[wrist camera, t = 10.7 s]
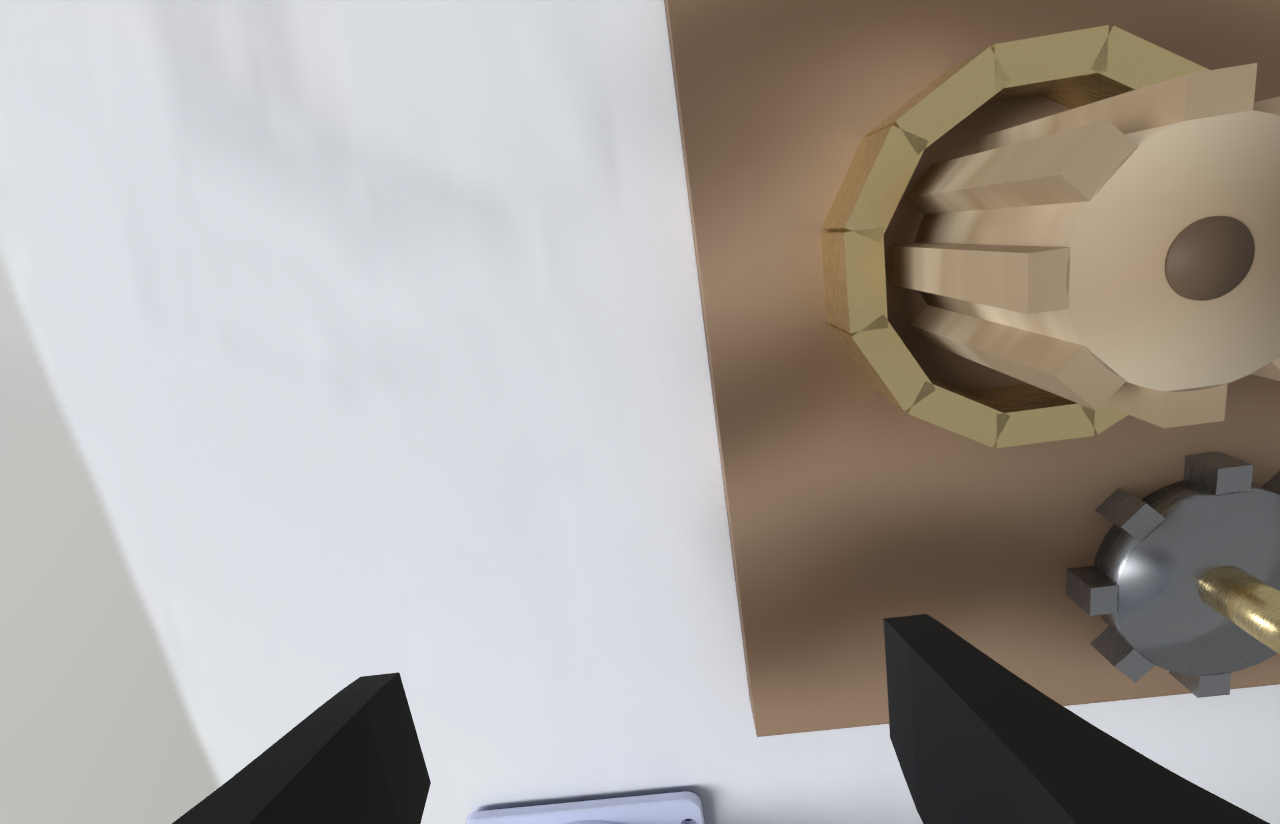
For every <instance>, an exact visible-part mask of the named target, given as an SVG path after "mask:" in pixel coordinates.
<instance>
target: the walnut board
mask: <svg viewBox="0 0 1280 824" xmlns="http://www.w3.org/2000/svg"><path fill="white" fill-rule="evenodd" d="M664 3H665V11H666V19H667V27H668V36H669V44H670V52H671V60H672V68H673V76H674V84H675V93H676V101H677V109H678V117H679V125H680V133H681V142H682V150H683V158H684V166H685V174H686V182H687V190H688V199H689V207H690V215H691V223H692V231H693V239H694V247H695V256H696V264H697V272H698V280H699V288H700V296H701V305H702V313H703V321H704V329H705V337H706V345H707V353H708V362H709V370H710V378H711V386H712V394H713V402H714V410H715V419H716V427H717V435H718V443H719V451H720V459H721V468H722V476H723V484H724V492H725V500H726V508H727V516H728V525H729V533H730V541H731V549H732V557H733V565H734V573H735V582H736V590H737V598H738V606H739V614H740V622H741V630H742V639H743V647H744V655H745V663H746V671H747V679H748V688H749V696H750V703H751V708H752V713H753V718H754V723H755V729H756V734H757V737H761V736H771V735H781V734H791V733H800V732H810V731H820V730H830V729H840V728H850V727H860V726H870V725H880V724H889V708H888V691H887V673H886V656H885V638H884V621H883V619H884V618H893V617H902V616H911V615H920V614H928V615H930V616H931V617H933V618H934V619H936V620H937V621H939V622H940V623H942V624H943V625H944V626H946V627H947V628H949V629H950V630H952V631H953V632H954V633H956V634H957V635H959V636H960V637H962V638H963V639H964V640H966V641H967V642H969V643H970V644H972V645H973V646H974V647H976V648H977V649H979V650H980V651H982V652H983V653H984V654H986V655H987V656H989V657H990V658H992V659H993V660H995V661H996V662H997V663H999V664H1000V665H1002V666H1003V667H1005V668H1006V669H1008V670H1009V671H1010V672H1012V673H1013V674H1015V675H1016V676H1018V677H1019V678H1021V679H1022V680H1024V681H1025V682H1027V683H1028V684H1030V685H1031V686H1033V687H1034V688H1036V689H1037V690H1039V691H1040V692H1042V693H1043V694H1045V695H1046V696H1048V697H1049V698H1051V699H1052V700H1054V701H1056V702H1057V703H1059V704H1060V705H1062V706H1068V705H1078V704H1088V703H1098V702H1108V701H1118V700H1128V699H1138V698H1148V697H1157V696H1167V695H1177V694H1187V693H1192V692H1191V691H1189V690H1188V689H1187V688H1186V687H1185V686H1184V685H1182V684H1181V683H1180V682H1179V681H1178V680H1177V679H1175V678H1174V677H1173V676H1172V675H1171V674H1170V673H1169V670H1166V669H1163V668H1161V667H1159V666H1157V665H1155V666H1154V667H1153V668H1152V669H1151V670H1150V671H1148V672H1147V673H1146V674H1145V675H1144V676H1143V677H1142V678H1140V679H1139V680H1138V681H1137V682H1136V683H1135V682H1134V681H1133V680H1131V679H1130V678H1129V677H1127V676H1126V675H1125V674H1123V673H1122V672H1121V671H1119V670H1118V669H1117V668H1115V667H1114V666H1113V665H1112V664H1111V663H1110V662H1109V661H1108V660H1107V659H1106V658H1105V657H1104V656H1102V655H1101V654H1100V653H1099V652H1098V651H1097V650H1096V649H1095V648H1094V647H1093V646H1092V645H1091V644H1090V643H1091V642H1092V641H1093V640H1094V639H1095V638H1096V637H1098V636H1099V635H1100V634H1101V633H1102V632H1103V631H1104V630H1105V629H1106V628H1107V627H1108V625H1107V624H1106V623H1105V621H1104V620H1103V619H1102V617H1101V615H1093V616H1089V615H1088V614H1087V613H1086V612H1085V611H1084V610H1083V609H1082V608H1080V607H1079V606H1078V605H1077V604H1076V603H1075V602H1074V601H1073V600H1071V599H1070V598H1069V597H1068V596H1067V595H1066V585H1067V569H1068V568H1077V567H1086V566H1093V565H1094V561H1095V557H1096V555H1097V552H1098V550H1099V547H1100V545H1101V543H1102V541H1103V540H1104V538H1105V536H1106V534H1107V533H1108V531H1109V530H1110V529H1111V527H1112V526H1113V524H1111V523H1110V522H1109V521H1108V520H1106V519H1105V518H1104V517H1102V516H1101V515H1100V514H1099V513H1097V512H1096V511H1095V510H1096V509H1097V508H1098V507H1099V506H1100V505H1101V504H1102V503H1103V502H1104V501H1105V500H1106V499H1107V498H1108V497H1109V496H1110V495H1111V494H1112V493H1113V492H1114V491H1115V490H1116V489H1117V488H1120V489H1122V490H1123V491H1125V492H1127V493H1129V494H1131V495H1132V496H1134V497H1136V498H1138V499H1140V500H1141V499H1143V498H1144V497H1146V496H1147V495H1149V494H1151V493H1153V492H1155V491H1156V490H1158V489H1160V488H1163V487H1165V486H1168V485H1170V484H1173V483H1176V482H1179V481H1183V480H1184V467H1185V455H1192V454H1200V453H1208V452H1216V451H1219V452H1222V453H1224V454H1227V455H1230V456H1232V457H1235V458H1237V459H1240V460H1242V461H1245V462H1248V463H1250V464H1253V473H1252V482H1251V483H1253V484H1255V485H1257V486H1260V487H1262V486H1263V485H1264V484H1265V483H1266V482H1268V481H1269V480H1270V479H1271V478H1272V477H1273V476H1274V475H1275V474H1276V473H1277V472H1278V471H1280V381H1277V380H1273V379H1269V378H1264V377H1260V376H1256V375H1252V374H1250V375H1247V376H1245V377H1243V378H1240V379H1238V380H1236V381H1233V382H1230V383H1227V384H1228V386H1227V396H1226V407H1225V418H1224V421H1219V422H1211V423H1203V424H1195V425H1187V426H1179V427H1171V428H1162V427H1159V426H1157V425H1154V424H1151V423H1149V422H1146V421H1144V420H1141V419H1138V418H1136V417H1133V416H1131V415H1128V416H1126V417H1124V418H1123V419H1121V420H1120V421H1118V422H1117V423H1115V424H1114V425H1112V426H1110V427H1109V428H1107V429H1106V430H1104V431H1103V432H1101V433H1100V434H1096V433H1094V436H1090V437H1082V438H1074V439H1066V440H1058V441H1050V442H1042V443H1035V444H1027V445H1019V446H1011V447H1003V448H995V447H994V446H993V448H992V447H989V446H987V445H984V444H982V443H979V442H977V441H974V440H972V439H969V438H967V437H964V436H962V435H959V434H957V433H954V432H952V431H949V430H947V429H944V428H942V427H939V426H937V425H934V424H932V423H929V422H927V421H924V420H922V419H919V418H917V417H914V416H912V415H909V414H907V413H906V412H905V411H903V410H902V409H900V408H899V407H898V406H896V405H895V404H893V403H892V402H891V401H889V400H888V399H887V398H885V397H884V396H882V395H881V394H880V393H878V392H877V391H876V390H875V389H874V388H873V386H872V385H871V383H870V382H869V381H868V379H867V378H866V376H865V375H864V374H863V372H862V371H861V370H860V368H859V367H858V365H857V364H856V363H855V361H854V360H853V358H852V357H851V356H850V354H849V353H848V351H847V350H846V349H845V347H844V346H843V345H842V343H841V342H840V340H839V339H838V338H837V336H836V335H835V333H834V332H833V331H832V329H831V328H830V327H829V325H828V324H830V322H828V321H827V316H826V303H825V289H824V275H823V261H822V248H821V234H820V233H823V232H828V231H825V230H823V229H821V228H822V226H823V224H824V221H825V219H826V217H827V215H828V213H829V210H830V208H831V206H832V204H833V202H834V199H835V197H836V195H837V193H838V191H839V188H840V186H841V184H842V182H843V180H844V177H845V175H846V173H847V171H848V169H849V166H850V164H851V162H852V160H853V158H854V155H855V153H856V151H857V149H858V147H859V144H860V142H861V140H862V139H864V138H866V137H865V135H866V134H867V133H869V132H870V131H871V130H872V129H874V128H875V127H876V126H877V125H879V124H880V123H881V122H883V121H884V120H885V119H886V118H888V117H889V116H890V115H891V114H893V113H894V112H895V111H896V110H898V109H899V108H900V107H901V106H903V105H904V104H905V103H906V102H908V101H909V100H910V99H911V98H913V97H914V96H915V95H917V94H918V93H919V92H920V91H922V90H923V89H924V88H925V87H927V86H928V85H929V84H930V83H932V82H933V81H934V80H935V79H937V78H938V77H939V76H940V75H942V74H943V73H944V72H946V71H947V70H949V69H951V68H953V67H954V66H956V65H958V64H960V63H961V62H963V61H965V60H967V59H968V58H970V57H972V56H974V55H975V54H977V53H979V52H981V51H982V50H984V49H986V48H988V47H989V46H992V45H994V44H998V43H1004V42H1010V41H1016V40H1022V39H1028V38H1034V37H1040V36H1046V35H1052V34H1058V33H1064V32H1070V31H1076V30H1082V29H1088V28H1094V27H1100V26H1106V25H1109V27H1112V26H1116V27H1118V28H1120V29H1122V30H1124V31H1127V32H1129V33H1131V34H1133V35H1135V36H1137V37H1140V38H1142V39H1144V40H1146V41H1148V42H1150V43H1153V44H1155V45H1157V46H1159V47H1161V48H1163V49H1166V50H1168V51H1170V52H1172V53H1174V54H1177V55H1179V56H1181V57H1183V58H1185V59H1187V60H1190V61H1192V62H1194V63H1196V64H1198V65H1200V66H1203V67H1205V68H1207V69H1209V70H1215V69H1221V68H1228V67H1234V66H1240V65H1247V64H1253V63H1257V74H1256V84H1255V95H1254V102H1258V101H1262V100H1267V99H1271V98H1276V97H1280V0H664ZM1067 110H1071V109H1070V108H1068V107H1066V106H1064V105H1062V104H1059V103H1057V102H1055V101H1053V100H1050V99H1048V98H1046V97H1044V96H1041V95H1033V96H1026V97H1020V98H1014V99H1008V100H1002V101H996V102H989V103H984V104H982V105H981V106H980V107H979V108H977V109H976V110H975V111H973V112H972V113H971V114H970V115H968V116H967V117H966V118H964V119H963V120H962V121H961V122H959V123H958V124H957V125H955V126H954V127H953V128H951V129H950V130H949V131H948V132H946V133H945V134H944V135H942V136H941V137H940V138H939V139H937V140H936V141H935V142H933V143H932V144H931V145H930V146H928V147H927V148H926V149H925V150H924V152H923V154H922V156H921V158H920V160H919V162H918V164H917V166H916V168H915V170H914V173H913V175H912V177H911V179H910V181H909V183H908V185H907V187H906V189H905V191H904V193H903V195H902V197H901V200H900V202H899V204H898V206H897V208H896V210H895V212H894V214H893V216H892V218H891V220H890V222H889V225H888V227H887V229H886V231H885V233H884V256H885V277H886V297H887V318H888V321H889V323H890V324H891V326H892V327H893V329H894V330H895V331H896V333H897V334H898V336H899V337H900V339H901V340H902V341H903V343H904V344H905V346H906V347H907V349H908V350H909V351H910V353H911V354H912V356H913V357H914V359H915V360H916V361H917V363H918V364H919V366H920V367H921V369H922V370H923V372H924V373H925V374H926V376H927V377H928V378H930V379H933V380H935V381H938V382H940V383H943V384H945V385H947V386H950V387H952V388H955V389H957V390H960V391H962V392H966V391H973V390H981V389H988V388H996V387H1003V386H1011V385H1018V384H1026V382H1024V381H1021V380H1019V379H1016V378H1014V377H1011V376H1009V375H1006V374H1004V373H1001V372H999V371H996V370H994V369H991V368H989V367H986V366H984V365H982V364H979V363H977V362H974V361H972V360H969V359H967V358H964V357H962V356H959V355H957V354H954V353H952V352H949V351H947V350H944V349H942V348H939V347H937V346H936V345H935V344H933V343H932V342H931V341H930V340H928V339H927V338H926V337H925V336H923V335H922V334H921V333H920V332H919V331H917V330H916V329H915V328H914V327H912V326H911V325H910V324H911V323H912V322H913V321H914V320H915V318H916V317H917V316H918V315H919V314H920V313H921V312H922V310H923V309H924V308H925V307H926V306H927V303H926V302H925V300H924V299H923V297H922V295H921V293H920V291H918V290H913V289H909V288H904V287H899V286H895V285H890V265H889V246H894V245H901V244H907V243H914V242H915V238H916V235H917V231H918V228H919V226H920V223H921V221H922V218H923V216H924V215H925V214H924V213H923V212H922V211H920V210H919V209H918V208H917V207H916V206H914V205H913V204H912V203H911V202H910V201H908V200H907V199H906V197H907V195H908V194H909V193H910V192H911V190H912V189H913V188H914V187H915V186H916V184H917V183H918V182H919V181H920V179H921V178H922V177H923V176H924V175H925V173H926V172H927V171H928V170H929V168H930V167H931V166H932V165H933V164H937V163H941V162H945V161H949V160H953V159H957V158H961V157H964V156H968V155H972V154H976V153H979V137H982V136H985V135H988V134H992V133H995V132H998V131H1002V130H1005V129H1008V128H1012V127H1015V126H1018V125H1021V124H1025V123H1028V122H1031V121H1035V120H1038V119H1041V118H1044V117H1048V116H1051V115H1054V114H1058V113H1061V112H1064V111H1067ZM1276 684H1280V655H1279V654H1278V653H1277V654H1276V655H1274V656H1272V657H1271V658H1269V659H1267V660H1265V661H1263V662H1261V663H1258V664H1256V665H1254V666H1251V667H1248V668H1246V669H1243V670H1239V671H1235V672H1232V674H1231V683H1230V689H1237V688H1247V687H1257V686H1267V685H1276Z"/></svg>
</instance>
